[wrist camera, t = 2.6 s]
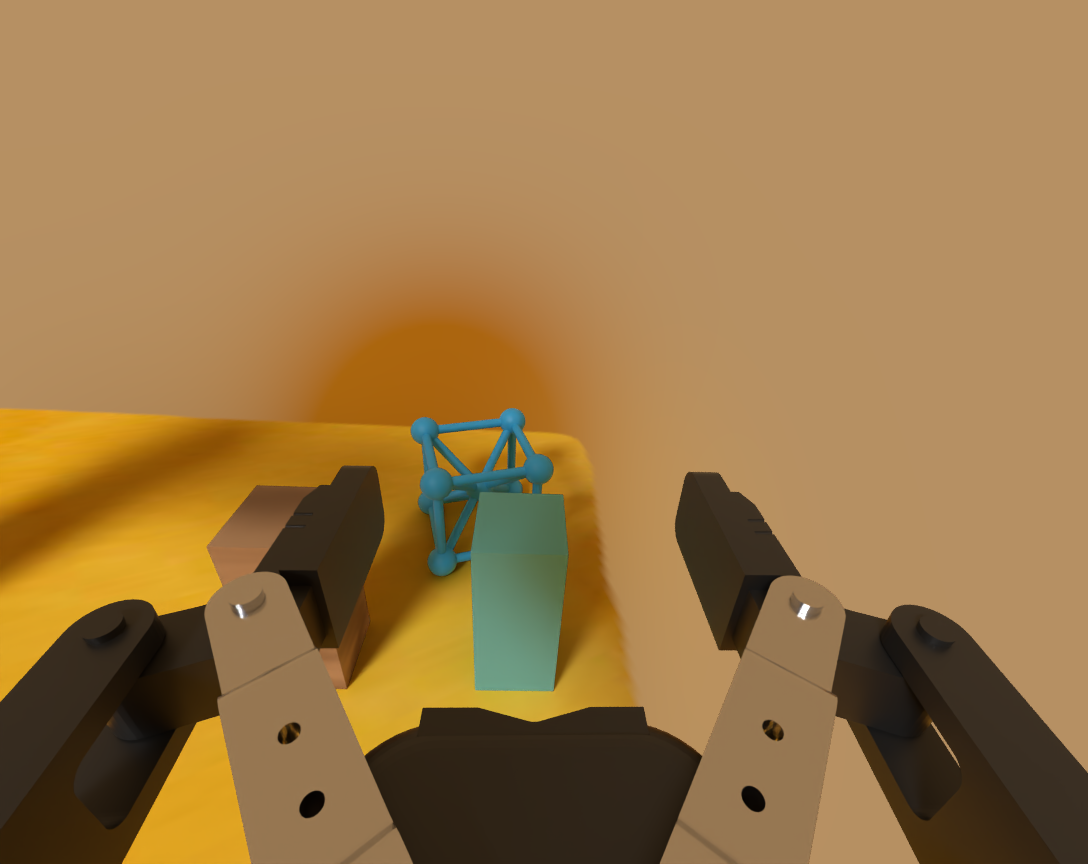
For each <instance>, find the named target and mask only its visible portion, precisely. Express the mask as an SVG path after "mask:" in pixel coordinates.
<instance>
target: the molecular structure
mask: <svg viewBox="0 0 1088 864" xmlns="http://www.w3.org/2000/svg"><path fill="white" fill-rule="evenodd" d="M524 425H525V417H524V415H523V413H521V411H520V410H517V409H515V408H510V409H507V410H505V411H504V412H503V413H502V414H501V416H500V419H491V420H482V421H473V422H463V423H454V424H445V425H437V423H436V422H435V421H434V420H432V419H431V418H427V417H423V418H419V419H417V420H416V421H415V422H414V423H413V425H412V427H411V435H412V437H413V439H414V440H415V441H416V442H418V443H419V444H422V453H423V464H424V474H423V476H422V478H421V481H420V488H421V491H422V494H421V495H420V497H419V499H418V505H419V508H420V510H421V511H422V512H424V513H426V514H429V516H430V522H431V527H432V533H433V538H434V544H435V549H434V550H433V551H431V553H430V555H429V557H428V567H429V569H430V571H431V572H432V573H433V574H435V575H438V576H445V575H448V574H450V573H451V572H452V571H453V570H454V569H455V567H456V564H457V563H459V562H464V561H469V560H471V551H467V552H462V553H457V554H455V552H454V551H453V549H454V547H455V545H456V543H457V541H458V539H459V537H460V535H461V533H462V531H463V529H464V527H465V525H466V523H467V521H468V519H469V517H470V515H471V513H472V511H473V509H474V507H475V505H476V503H477V501H479V495H480V492H496V493H522V491H523V487H522V484H521V483H520V481H519V480H520V479H524V478H526V479H527V480H528V481H529V482H531V483H533V489H532V494H541V493H542V484H544V483H546V482H547V481H548V480H549V479H550V478H551V477H552V475H553V464H552V462H551V460H550V459H549V458H548V457H546V456H544V455H541V454H535V453H534V451H533V449H532V447H531V445H530V444H529V442H528V440H527V438H526V436H525V435H524V433H523V431H522V429H523V428H524ZM493 427H501V428H502V429H503V432H502V434H501V436H500V438H499V440H498V442H497V444H496V446H495V448H494V450H493V452H492V454H491V456H490V458H489V460H488V462H487V464H486V466H485V468H484V469H483V471H482V473H475V474H472V473H471V472H470V471H469V470H468V469H467V468H466V467H465V465H464V464H463V463H462V462H461V461H460V460H459V459H458V458H457V457H456V456H455V455H454V454H453V453H452V452H451V451H450V450H449V449H448V448H447V447H446V446H445V445H444V444H443V443H442V442H441V441H440V440H439V439H438V438H437V437H438V434H440V433H449V432H458V431H467V430H475V429H484V428H493ZM516 438H517V440H518V442H519V444H520V445H521V447H522V449H523V451H524V453H525V455H526V457H527V460H526V461H525V463H524V466H523V467H517V468H515V454H516ZM507 440H508V466H507V469H503V470H496V471H492V470H493V468H494V466H495V464H496V462H497V460H498V458H499V456H500V454H501V452H502V450H503V448H504V446H505V444H506V442H507ZM433 446H434V447H435V448H436V449H437V450H438V451H439V452H440V453H441V454H442V455H443V456H444V457H445V458H446V459H447V460H448V461H449V463H450V464H451V465H452V466H453V467H454V468H455V469H456V470H457V471H458V472H459V473H460V474H461V476H454V477H451V475H450V474H449V473H448V472H447V471H446V470H444V469H442V468H438V465H437V461H436V456H435V452H434V448H433ZM452 490H454V491H452ZM464 500H468V501H467V503H466V505H465V507H464V509H463V511H462V513H461V515H460V517H459V519H458V521H457V523H456V525H455V527H454V529H453V531H452V533H451V535H450V537H449V539H448V541H447V543H446V537H445V523H444V508H443V504H445V503H452V502H458V501H464Z"/></svg>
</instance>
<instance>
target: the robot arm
mask: <svg viewBox="0 0 1088 864" xmlns="http://www.w3.org/2000/svg"><path fill="white" fill-rule="evenodd" d="M383 531H384V509H383V503H382V497H381V491H380V485H379V479H378V474H377V470H376V468H375V467H374V466H342V467H341V469H340V470H339V472H338V473H337V475H336V477H335V478H334V480H333V482H332V483H331V485H320V486H318V487H317V488H316V489H314V490H313V491H312V492H310V493H309V494H308V495H306V496H305V497H304V498H303V499H302V501H301V502H300V504H299V505H298V507H297V508H296V510H295V511H294V514H293V516H291V517H290V519H289V520H288V522H287V523H286V525H285V528H283V529H282V530H281V532H280V533H279V535H278V536H277V538H276V539H275V541H274V542H273V544H272V545H271V547H270V548H269V550H268V551H267V553H266V554H265V556H264V557H263V559H262V560H261V562H260V563H259V565H258V566H257V568H256V569H255V571H254V572H253V573H251V574H247V575H244V576H241V577H239V578H237V579H234V580H232V581H231V582H229V583H227V584H226V585H224V586H223V587H222V588H220V589H219V590H218V591H217V592H216V593H215V594H214V595H213V596H212V597H211V599H210V600H209V601H208V603H207V604H206V605H203V606H199V607H195V608H191V609H186V610H182V611H178V612H174V613H169V614H165V615H161V616H158V615H157V613H156V611H155V610H154V608H153V606H152V605H151V604H150V603H148V602H146V601H143V600H134V599H132V600H123V601H118V602H115V603H111V604H108V605H106V606H103V607H100V608H98V609H96V610H94V611H92V612H90V613H89V614H87V615H85V616H83V617H82V618H80V619H79V620H78V621H76V622H75V623H74V624H72V625H71V626H70V627H69V628H68V629H67V630H66V631H65V632H64V633H63V634H62V635H61V636H60V637H59V638H58V639H57V640H56V641H55V643H54V644H53V645H52V646H51V647H50V648H49V649H48V650H47V651H46V652H45V654H44V655H43V656H42V657H41V658H40V659H39V660H38V661H37V662H36V663H35V665H34V666H33V667H32V668H31V669H30V670H29V671H28V672H27V673H26V674H25V676H24V677H23V678H22V679H21V680H20V681H19V682H18V683H17V684H16V685H15V687H14V688H13V689H12V690H11V691H10V692H9V693H8V694H7V695H6V696H5V698H4V699H3V700H2V701H1V702H0V864H122V862H123V860H124V858H125V856H126V855H127V853H128V851H129V849H130V847H131V845H132V843H133V841H134V839H135V838H136V836H137V834H138V832H139V830H140V828H141V826H142V824H143V822H144V821H145V819H146V817H147V815H148V813H149V811H150V809H151V807H152V805H153V804H154V802H155V800H156V798H157V796H158V794H159V792H160V790H161V789H162V787H163V785H164V783H165V781H166V779H167V777H168V775H169V773H170V772H171V770H172V768H173V766H174V764H175V762H176V760H177V758H178V756H179V755H180V753H181V751H182V749H183V747H184V745H185V743H186V741H187V739H188V738H189V736H190V734H191V732H192V730H193V728H194V726H195V724H196V723H197V722H199V721H202V720H206V719H209V718H212V717H216V716H219V715H220V718H221V723H222V728H223V733H224V737H225V742H226V747H227V751H228V756H229V761H230V765H231V770H232V775H233V780H234V784H235V789H236V794H237V798H238V803H239V808H240V812H241V817H242V822H243V827H244V831H245V836H246V841H247V845H248V850H249V855H250V859H251V864H809V859H810V853H811V848H812V842H813V836H814V831H815V825H816V820H817V814H818V809H819V803H820V798H821V792H822V786H823V781H824V775H825V770H826V764H827V759H828V753H829V747H830V742H831V737H832V731H833V726H834V720H835V716H837V717H840V718H844V719H847V721H848V723H849V725H850V727H851V729H852V731H853V733H854V735H855V737H856V739H857V741H858V743H859V745H860V747H861V749H862V751H863V753H864V755H865V757H866V759H867V761H868V763H869V765H870V767H871V769H872V771H873V773H874V775H875V777H876V779H877V781H878V782H879V784H880V786H881V788H882V790H883V792H884V794H885V796H886V798H887V800H888V802H889V804H890V806H891V808H892V810H893V812H894V814H895V816H896V818H897V820H898V822H899V824H900V826H901V828H902V830H903V832H904V834H905V835H906V838H907V840H908V842H909V844H910V846H911V848H912V850H913V852H914V854H915V856H916V857H917V860H918V861H919V863H920V864H1088V773H1087V772H1086V770H1085V769H1084V768H1083V767H1082V766H1081V765H1080V763H1079V762H1078V761H1077V760H1076V759H1075V758H1074V757H1073V755H1072V754H1071V753H1070V752H1069V751H1068V750H1067V748H1066V747H1065V746H1064V745H1063V744H1062V742H1061V741H1060V740H1059V739H1058V738H1057V737H1056V736H1055V734H1054V733H1053V732H1052V731H1051V730H1050V729H1049V727H1048V726H1047V725H1046V724H1045V723H1044V721H1043V720H1042V719H1041V718H1040V717H1039V715H1038V714H1037V713H1036V712H1035V711H1034V710H1033V708H1032V707H1031V706H1030V705H1029V704H1028V703H1027V702H1026V700H1025V699H1024V698H1023V697H1022V696H1021V694H1020V693H1019V692H1018V691H1017V690H1016V689H1015V687H1013V685H1012V684H1011V683H1010V682H1009V680H1008V679H1007V678H1006V677H1005V676H1004V675H1003V673H1002V672H1000V670H999V669H998V668H997V666H996V665H995V664H994V663H993V662H992V661H991V659H990V658H989V657H988V656H987V655H986V654H985V652H984V651H983V650H982V649H981V648H980V647H979V645H978V644H977V643H976V642H975V641H974V640H973V638H972V637H971V636H970V635H969V634H968V633H967V632H966V631H965V630H964V629H963V628H961V627H960V626H959V625H958V624H957V623H955V622H954V621H952V620H950V619H949V618H947V617H946V616H944V615H942V614H940V613H938V612H936V611H933V610H931V609H928V608H925V607H921V606H916V605H903V606H899V607H896V608H895V609H894V610H893V611H892V613H891V615H890V616H889V618H888V620H885V619H881V618H878V617H874V616H870V615H866V614H862V613H858V612H854V611H850V610H847V609H844V608H843V606H842V604H841V603H840V601H839V600H838V599H837V597H836V596H835V595H834V594H832V593H831V592H830V591H829V590H828V589H826V588H825V587H823V586H822V585H820V584H818V583H816V582H814V581H812V580H809V579H807V578H803V577H801V575H800V574H799V572H798V570H797V569H796V567H795V566H794V564H793V563H792V561H791V560H790V558H789V557H788V555H787V554H786V552H785V550H784V549H783V547H782V546H781V544H780V543H779V541H778V540H777V538H776V537H775V535H772V531H771V529H770V527H769V526H768V524H767V523H766V522H764V518H763V517H762V515H761V513H760V512H759V510H758V509H757V507H756V506H755V505H754V504H753V503H752V502H751V501H749V500H748V499H747V498H746V497H744V496H743V495H742V494H741V493H739V492H730V490H729V488H728V487H727V485H726V483H725V482H724V480H723V479H722V477H721V475H720V474H719V473H711V472H688V473H687V475H686V476H685V480H684V484H683V488H682V493H681V497H680V502H679V506H678V510H677V515H676V521H675V532H676V538H677V542H678V545H679V547H680V550H681V553H682V555H683V558H684V560H685V563H686V565H687V568H688V571H689V573H690V576H691V579H692V581H693V584H694V586H695V589H696V591H697V594H698V597H699V599H700V602H701V604H702V607H703V610H704V612H705V615H706V618H707V620H708V623H709V625H710V628H711V631H712V633H713V636H714V638H715V641H716V644H717V646H718V649H719V650H737V651H738V653H739V656H740V658H741V661H740V663H739V665H738V668H737V670H736V673H735V676H734V678H733V681H732V683H731V686H730V688H729V691H728V693H727V696H726V698H725V701H724V704H723V706H722V708H721V711H720V713H719V716H718V718H717V721H716V723H715V726H714V729H713V731H712V733H711V736H710V739H709V741H708V744H707V746H706V749H705V751H704V754H703V756H701V755H700V754H699V753H698V752H697V751H696V750H694V749H693V748H692V747H690V746H689V745H687V744H686V743H684V742H683V741H682V740H680V739H678V738H676V737H674V736H673V735H671V734H669V733H667V732H664V731H661V730H659V729H657V728H654V727H651V726H647V722H646V717H645V712H644V707H589V708H585V709H582V710H578V711H575V712H571V713H567V714H564V715H560V716H557V717H553V718H550V719H546V720H543V721H538V722H530V721H526V720H522V719H518V718H515V717H511V716H507V715H503V714H500V713H496V712H492V711H489V710H485V709H481V708H423V709H422V715H421V720H420V725H419V727H416V728H413V729H410V730H407V731H405V732H402V733H400V734H398V735H395V736H394V737H392V738H390V739H388V740H386V741H384V742H383V743H381V744H380V745H378V746H377V747H375V748H374V749H373V750H371V751H370V752H368V753H367V754H366V755H365V756H364V754H363V752H362V750H361V747H360V745H359V743H358V740H357V738H356V736H355V734H354V731H353V729H352V727H351V724H350V722H349V720H348V717H347V715H346V713H345V710H344V708H343V706H342V703H341V701H340V699H339V697H338V694H337V692H336V690H335V687H334V685H333V683H332V680H331V678H330V676H329V673H328V671H327V669H326V667H325V664H324V662H323V660H322V657H321V655H320V653H319V651H320V648H339V646H340V644H341V641H342V639H343V636H344V634H345V631H346V628H347V626H348V623H349V621H350V618H351V616H352V613H353V611H354V608H355V605H356V603H357V600H358V598H359V595H360V593H361V590H362V587H363V585H364V582H365V580H366V577H367V575H368V572H369V570H370V567H371V564H372V562H373V559H374V557H375V554H376V552H377V549H378V546H379V544H380V541H381V539H382V536H383ZM932 721H933V722H934V724H935V726H936V727H937V729H938V730H939V732H940V733H941V735H942V736H943V738H944V739H945V741H946V742H947V744H948V745H949V747H950V748H951V750H952V751H953V753H954V755H955V756H956V758H957V760H958V763H959V766H960V767H959V766H958V764H957V763H956V761H955V760H954V758H953V757H952V755H951V754H950V752H949V751H948V749H947V747H946V746H945V744H944V743H943V741H942V740H941V738H940V737H939V735H938V734H937V732H936V731H935V729H934V728H933V726H932V725H931V723H932Z"/></svg>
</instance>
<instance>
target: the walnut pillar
mask: <svg viewBox="0 0 1088 864" xmlns="http://www.w3.org/2000/svg"><path fill="white" fill-rule="evenodd" d="M316 488H317V487H290V486H258V485H257V486H256V487H255V488H254V489H253V491H252V492H251V493H250V494H249V496H248V497H247V498H246V499H245V500H244V502H243V503H242V504H241V505H240V507H239V508H238V509H237V510H236V511H235V513H234V514H233V515H232V516H231V518H230V519H229V520H228V521H227V522H226V524H225V525H224V526H223V527H222V529H221V530H220V531H219V532H218V533H217V535H216V536H215V537H214V538H213V540H212V541H211V542H210V543H209V544H208V546H207V549H208V551H209V554H210V556H211V559H212V561H213V563H214V566H215V568H216V571H217V573H218V575H219V578H220V580H221V583H222V585H223V586H224V585H226V584H227V583H229V582H231V581H232V580H234V579H237V578H239V577H241V576H244V575H247V574H251V573H253V572H254V571H255V569H256V568H257V566H258V565H259V563H260V562H261V560H262V559H263V557H264V556H265V554H266V553H267V551H268V550H269V548H270V547H271V545H272V544H273V542H274V541H275V539H276V538H277V536H278V535H279V533H280V532H281V530H282V529H283V528H285V525H286V523H287V522H288V520H289V519H290V517H291V516H293V514H294V511H295V510H296V508H297V507H298V505H299V504H300V502H301V501H302V499H303V498H304V497H305V496H306V495H308V494H309V493H310V492H312V491H313V490H314V489H316ZM369 623H370V617H369V612H368V607H367V602H366V597H365V592H364V587H362V590H361V593H360V595H359V598H358V600H357V603H356V605H355V608H354V611H353V613H352V616H351V618H350V621H349V623H348V626H347V628H346V631H345V634H344V636H343V639H342V641H341V644H340V646H339V648H320V651H319V653H320V655H321V657H322V660H323V662H324V664H325V667H326V669H327V671H328V673H329V676H330V678H331V680H332V683H333V685H334V687H335V689H347V687H348V684H349V682H350V679H351V676H352V673H353V670H354V667H355V664H356V661H357V658H358V655H359V652H360V650H361V647H362V644H363V641H364V638H365V635H366V632H367V629H368V626H369Z"/></svg>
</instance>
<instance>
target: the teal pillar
mask: <svg viewBox="0 0 1088 864" xmlns="http://www.w3.org/2000/svg"><path fill="white" fill-rule="evenodd" d="M567 564H568V544H567V533H566V521H565V510H564V499H563V495H562V494H529V493H496V492H480V495H479V502H478V508H477V515H476V521H475V528H474V534H473V541H472V547H471V578H472V608H473V638H474V668H475V690H510V691H554V682H555V673H556V663H557V654H558V645H559V636H560V627H561V618H562V609H563V600H564V591H565V582H566V573H567Z"/></svg>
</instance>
